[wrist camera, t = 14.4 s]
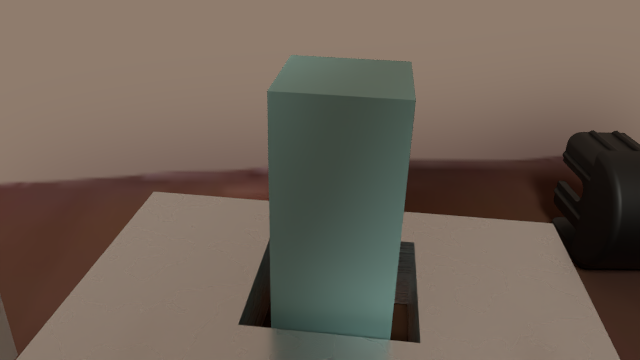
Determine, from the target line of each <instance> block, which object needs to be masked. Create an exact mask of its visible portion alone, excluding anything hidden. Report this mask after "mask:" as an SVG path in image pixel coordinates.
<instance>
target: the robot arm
mask: <svg viewBox="0 0 640 360" xmlns="http://www.w3.org/2000/svg"><path fill="white" fill-rule="evenodd" d="M17 356H18V354H17V351H16V348H15V344H14V341H13V337H12V334H11V330H10V327H9V324H8V320H7V317H6V313H5V310H4V307H3V303H2V300H1V296H0V360H14V359H15V358H16V357H17Z"/></svg>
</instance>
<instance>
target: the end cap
mask: <svg viewBox="0 0 640 360" xmlns="http://www.w3.org/2000/svg"><path fill="white" fill-rule="evenodd" d="M563 157H564V159H563V161H564V162H565V163H566V164H567V166H568V167H569V168H570V169H571V170H572V171H573V172H574V173H575V174H576V175H577V176H578V177H579V178H580V179H581V181H582V183H583V195H582V198H580V197H579V196H578V195H577V194H576V193H575V192H574V191H573V189H572V188H571V187H570V186H569V185H568V184H567V183H566V182H565V181H558V184H557V187H556V188H555V189H554V192H555V196H554V203H555V205H556V206H557V207H558V208H559V210H560V211H561V212H562V213H563V215H564V216H565V217H556V218H554V219H553V220H552V224H553V225H554V227H555V229H556V231H557V233H558V235H559V237H560V239H561V241H562V243H563V245H564V247H565V249H566V251H567V252H568V253H569V255H570V256H571V258H572V259H573V260H574V262H575V263H576V264H577V265H579V266H580V267H581V268H591V269H640V144H638V143H637V142H635V141H634V140H633V139H631V138H630V137H629V136H627V135H626V134H625V133H619V132H618V131H614V132H612V133H597V132H595V131H590V132H580V133H576V134H574V135H573V136H571V137H570V139H569V140H568V143H567V147H566V151H565V152H564V153H563Z"/></svg>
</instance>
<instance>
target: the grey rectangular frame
mask: <svg viewBox="0 0 640 360" xmlns="http://www.w3.org/2000/svg"><path fill="white" fill-rule="evenodd" d="M270 301H271V288H270V225H269V201H263V200H250V199H238V198H225V197H213V196H200V195H188V194H175V193H163V192H153V193H152V195H151V196H150V197H149V198H148V200H147V201H146V202H145V203H144V204H143V206H142V207H141V208H140V209H139V210H138V212H137V213H136V214H135V215H134V217H133V218H132V219H131V220H130V221H129V223H128V224H127V225H126V226H125V228H124V229H123V230H122V231H121V232H120V234H119V235H118V236H117V237H116V239H115V240H114V241H113V242H112V243H111V245H110V246H109V247H108V248H107V250H106V251H105V252H104V253H103V254H102V256H101V257H100V258H99V259H98V260H97V262H96V263H95V264H94V265H93V267H92V268H91V269H90V270H89V271H88V273H87V274H86V275H85V276H84V278H83V279H82V280H81V281H80V282H79V284H78V285H77V286H76V287H75V289H74V290H73V291H72V292H71V293H70V295H69V296H68V297H67V298H66V299H65V301H64V302H63V303H62V304H61V306H60V307H59V308H58V309H57V310H56V312H55V313H54V314H53V315H52V317H51V318H50V319H49V320H48V321H47V323H46V324H45V325H44V326H43V328H42V329H41V330H40V331H39V332H38V334H37V335H36V336H35V337H34V339H33V340H32V341H31V342H30V343H29V345H28V346H27V347H26V348H25V349H24V351H23V352H22V353H21V354H20V356H19V357H18V358H17V359H16V360H620V358H619V356H618V354H617V352H616V350H615V348H614V346H613V344H612V342H611V340H610V338H609V336H608V334H607V332H606V330H605V328H604V326H603V324H602V322H601V320H600V318H599V316H598V314H597V312H596V310H595V308H594V306H593V304H592V302H591V300H590V298H589V296H588V293H587V291H586V289H585V287H584V285H583V283H582V281H581V279H580V277H579V275H578V273H577V271H576V269H575V267H574V265H573V263H572V261H571V259H570V257H569V255H568V253H567V251H566V249H565V247H564V245H563V243H562V241H561V239H560V237H559V235H558V233H557V231H556V229H555V227H554V225H553V224H551V223H538V222H526V221H513V220H501V219H488V218H476V217H463V216H451V215H438V214H426V213H413V212H404V215H403V224H402V233H401V243H400V252H399V261H398V271H397V280H396V289H395V299H394V303H400V304H407V322H408V342H404V341H394V340H384V339H374V338H364V337H354V336H344V335H334V334H324V333H314V332H304V331H295V330H285V329H275V328H265V327H263V323H264V320H265V317H266V314H267V310H268V307H269V304H270Z"/></svg>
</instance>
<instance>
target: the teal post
mask: <svg viewBox="0 0 640 360" xmlns="http://www.w3.org/2000/svg"><path fill="white" fill-rule="evenodd" d="M267 97H268V160H269V225H270V288H271V328H275V329H285V330H295V331H304V332H314V333H324V334H334V335H344V336H354V337H364V338H374V339H384V340H390V336H391V327H392V318H393V308H394V299H395V289H396V280H397V271H398V261H399V252H400V243H401V233H402V224H403V215H404V205H405V196H406V187H407V177H408V168H409V158H410V148H411V140H412V139H411V138H412V130H413V121H414V111H415V102H416V98H415V90H414V81H413V72H412V63H411V62H406V61H387V60H369V59H350V58H333V57H316V56H298V55H291V56H290V58H289V59H288V61H287V62H286V64H285V65H284V67H283V68H282V70H281V71H280V73H279V74H278V76H277V77H276V79H275V80H274V82H273V83H272V85H271V86H270V88H269V89H268V91H267Z"/></svg>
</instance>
